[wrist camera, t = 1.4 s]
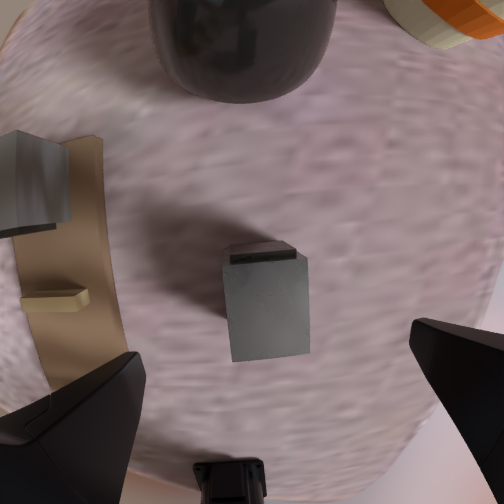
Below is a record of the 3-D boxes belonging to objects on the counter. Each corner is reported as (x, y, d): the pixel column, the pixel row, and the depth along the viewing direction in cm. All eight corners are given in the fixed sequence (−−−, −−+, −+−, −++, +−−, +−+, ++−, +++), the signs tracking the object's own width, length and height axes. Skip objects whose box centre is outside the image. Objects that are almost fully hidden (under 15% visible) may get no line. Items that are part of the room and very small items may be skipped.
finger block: (288, 314, 21) (310, 353, 15) (231, 320, 20) (232, 362, 14) (284, 237, 20) (306, 249, 14) (223, 242, 20) (220, 257, 14)
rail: (142, 399, 21) (116, 462, 13) (63, 393, 20) (24, 442, 13) (102, 139, 18) (46, 110, 10) (20, 162, 17) (-43, 151, 10)
